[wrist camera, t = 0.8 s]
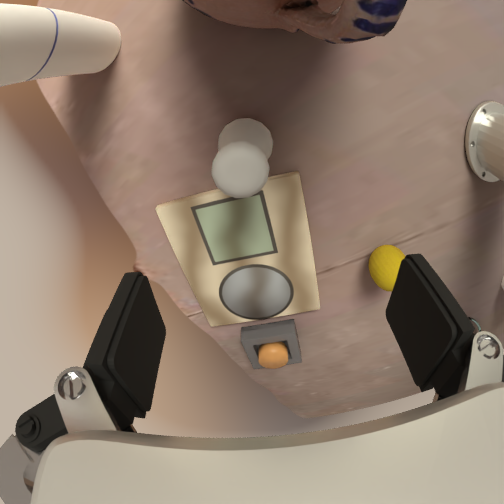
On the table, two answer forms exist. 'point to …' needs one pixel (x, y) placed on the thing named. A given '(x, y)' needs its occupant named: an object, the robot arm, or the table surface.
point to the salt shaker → (242, 158)
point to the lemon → (385, 266)
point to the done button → (273, 355)
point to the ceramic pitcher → (309, 16)
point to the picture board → (245, 251)
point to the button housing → (271, 340)
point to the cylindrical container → (53, 43)
